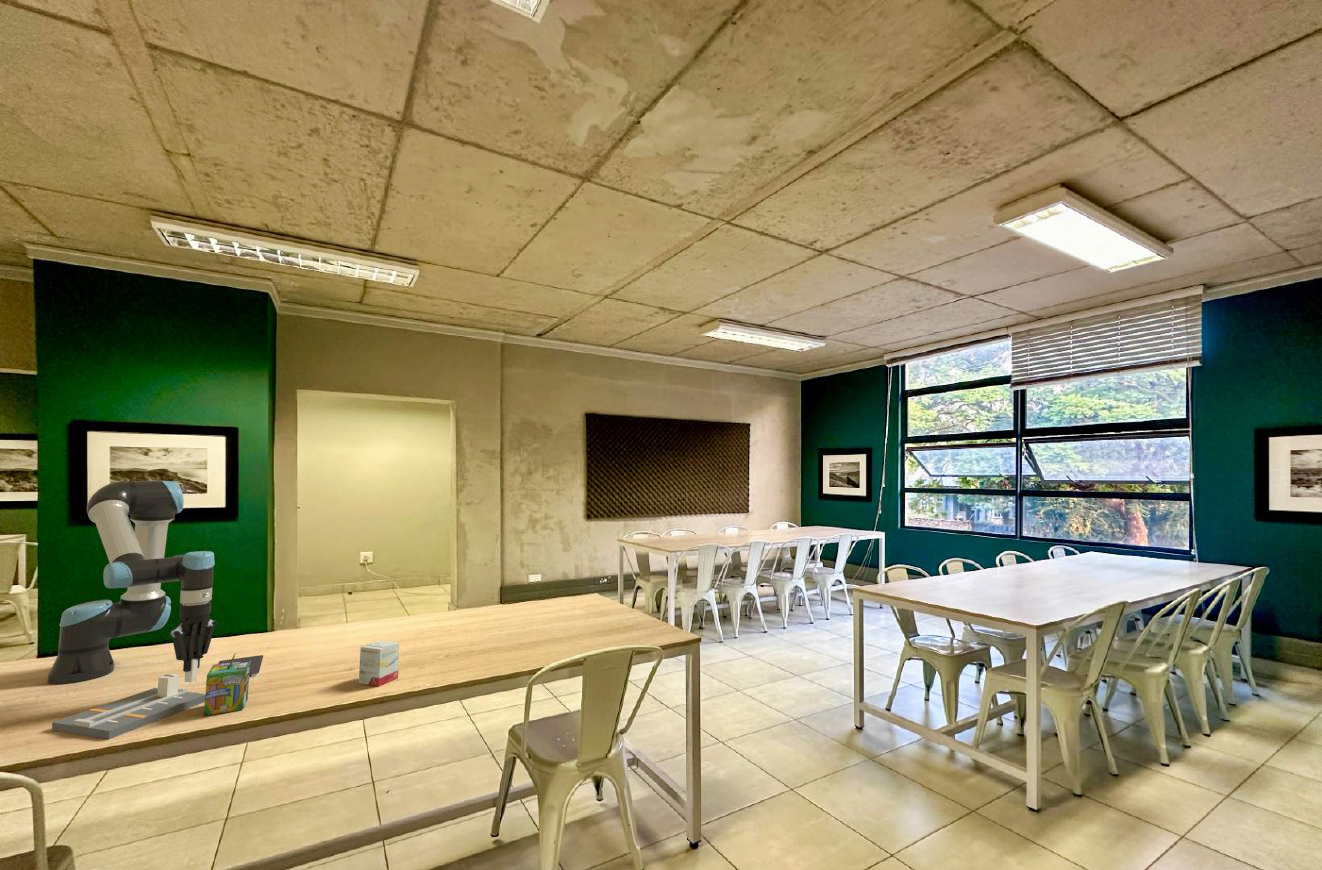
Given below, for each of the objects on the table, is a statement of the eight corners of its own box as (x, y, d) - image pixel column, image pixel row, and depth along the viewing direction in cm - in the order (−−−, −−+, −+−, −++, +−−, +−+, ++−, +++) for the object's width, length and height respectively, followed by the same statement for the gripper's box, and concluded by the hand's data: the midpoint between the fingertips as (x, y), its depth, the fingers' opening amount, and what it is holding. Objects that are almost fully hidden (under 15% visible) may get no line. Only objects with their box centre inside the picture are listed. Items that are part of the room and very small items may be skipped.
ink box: (399, 677, 183) (400, 641, 183) (378, 687, 175) (379, 649, 175) (379, 674, 185) (380, 638, 186) (357, 683, 177) (359, 646, 178)
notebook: (219, 665, 194) (209, 685, 176) (219, 660, 194) (210, 680, 176) (263, 659, 201) (258, 677, 183) (263, 654, 201) (258, 672, 183)
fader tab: (157, 696, 160) (158, 676, 161) (168, 692, 163) (169, 673, 164) (166, 697, 160) (168, 678, 160) (177, 693, 163) (179, 674, 163)
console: (51, 730, 144) (52, 717, 144) (154, 694, 167) (155, 683, 167) (109, 739, 139) (110, 726, 139) (206, 701, 163) (206, 690, 163)
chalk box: (209, 705, 160) (213, 653, 161) (248, 699, 165) (251, 648, 166) (202, 717, 152) (205, 662, 153) (243, 710, 157) (246, 657, 158)
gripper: (182, 608, 162) (177, 690, 161) (226, 598, 175) (221, 674, 173) (163, 606, 164) (157, 688, 162) (207, 597, 177) (202, 672, 175)
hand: (190, 681), depth 168 cm, fingers closed
